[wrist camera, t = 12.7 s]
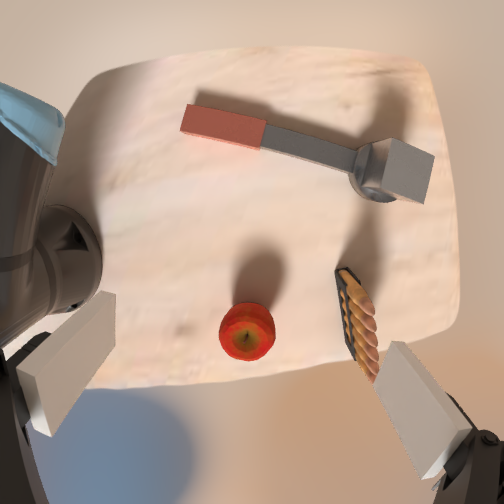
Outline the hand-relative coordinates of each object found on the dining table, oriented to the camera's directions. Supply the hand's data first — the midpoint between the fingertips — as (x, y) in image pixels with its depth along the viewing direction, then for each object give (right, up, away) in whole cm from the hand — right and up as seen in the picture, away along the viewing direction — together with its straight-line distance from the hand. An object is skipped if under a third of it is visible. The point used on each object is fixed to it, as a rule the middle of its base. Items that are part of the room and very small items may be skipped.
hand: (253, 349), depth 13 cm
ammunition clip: (+12, -3, +25) cm, 28 cm away
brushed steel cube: (+15, +13, +18) cm, 27 cm away
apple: (0, -3, +26) cm, 26 cm away
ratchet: (+5, +16, +21) cm, 27 cm away
